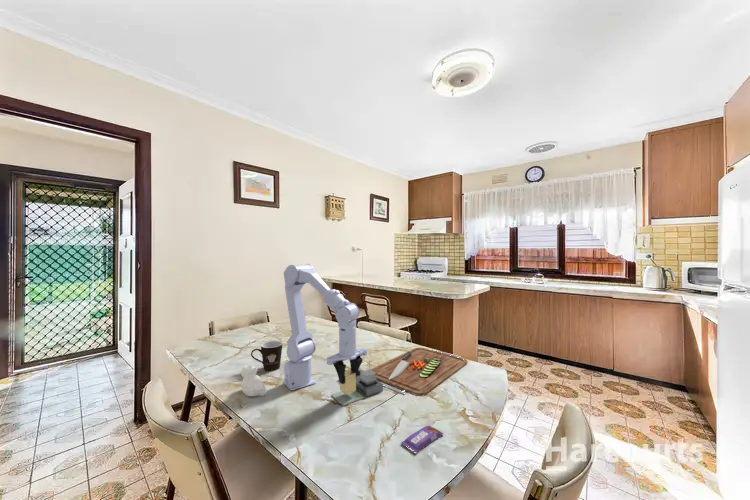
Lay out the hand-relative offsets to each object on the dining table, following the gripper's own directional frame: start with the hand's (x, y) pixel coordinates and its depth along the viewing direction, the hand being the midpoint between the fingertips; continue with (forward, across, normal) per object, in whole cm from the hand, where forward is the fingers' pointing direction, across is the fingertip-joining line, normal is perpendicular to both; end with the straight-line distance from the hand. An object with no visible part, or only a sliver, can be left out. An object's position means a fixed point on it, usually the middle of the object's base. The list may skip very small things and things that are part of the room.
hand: (347, 380), depth 94 cm
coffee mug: (+6, -14, +40) cm, 43 cm away
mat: (+5, 0, 0) cm, 5 cm away
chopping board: (+6, +36, +2) cm, 37 cm away
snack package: (+6, +4, -30) cm, 31 cm away
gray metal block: (+6, +8, 0) cm, 10 cm away
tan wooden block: (+3, 0, 0) cm, 3 cm away
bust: (+6, -25, +21) cm, 33 cm away
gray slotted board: (+5, +8, +4) cm, 11 cm away
